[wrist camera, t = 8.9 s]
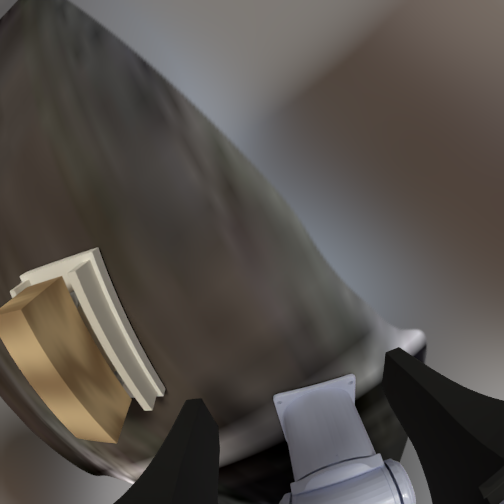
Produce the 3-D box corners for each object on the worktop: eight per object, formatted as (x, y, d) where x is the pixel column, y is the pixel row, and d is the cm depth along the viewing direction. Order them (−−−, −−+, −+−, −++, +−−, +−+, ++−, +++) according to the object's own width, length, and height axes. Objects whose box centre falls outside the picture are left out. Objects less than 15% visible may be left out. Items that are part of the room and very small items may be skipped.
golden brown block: (131, 399, 19) (116, 443, 14) (94, 399, 19) (76, 438, 14) (62, 275, 15) (20, 309, 11) (27, 286, 15) (-11, 317, 11)
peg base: (165, 388, 22) (159, 413, 19) (91, 391, 22) (81, 411, 19) (98, 247, 17) (76, 262, 14) (25, 272, 18) (5, 286, 14)
